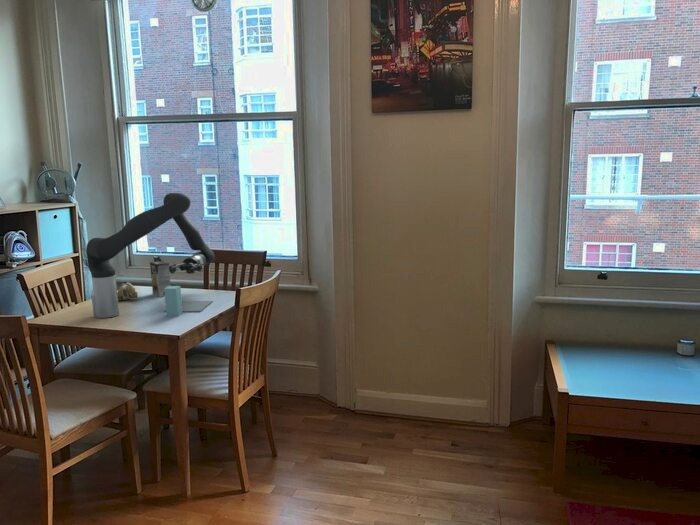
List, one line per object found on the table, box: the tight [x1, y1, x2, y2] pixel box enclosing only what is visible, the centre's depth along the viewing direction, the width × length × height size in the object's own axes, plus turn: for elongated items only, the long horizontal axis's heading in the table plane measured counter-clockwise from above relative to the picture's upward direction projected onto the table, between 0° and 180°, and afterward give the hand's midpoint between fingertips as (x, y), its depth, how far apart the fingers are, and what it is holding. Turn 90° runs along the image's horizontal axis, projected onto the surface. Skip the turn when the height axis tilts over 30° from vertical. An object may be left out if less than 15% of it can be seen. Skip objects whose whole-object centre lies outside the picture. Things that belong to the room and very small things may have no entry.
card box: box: [164, 285, 183, 318], centre depth 233 cm, size 5×5×12 cm
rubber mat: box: [163, 300, 214, 313], centre depth 246 cm, size 16×18×1 cm
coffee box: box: [149, 260, 172, 298], centre depth 270 cm, size 9×6×16 cm
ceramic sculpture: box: [117, 281, 139, 301], centre depth 264 cm, size 11×9×15 cm
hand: (181, 271), depth 242 cm, fingers open, 8 cm apart
